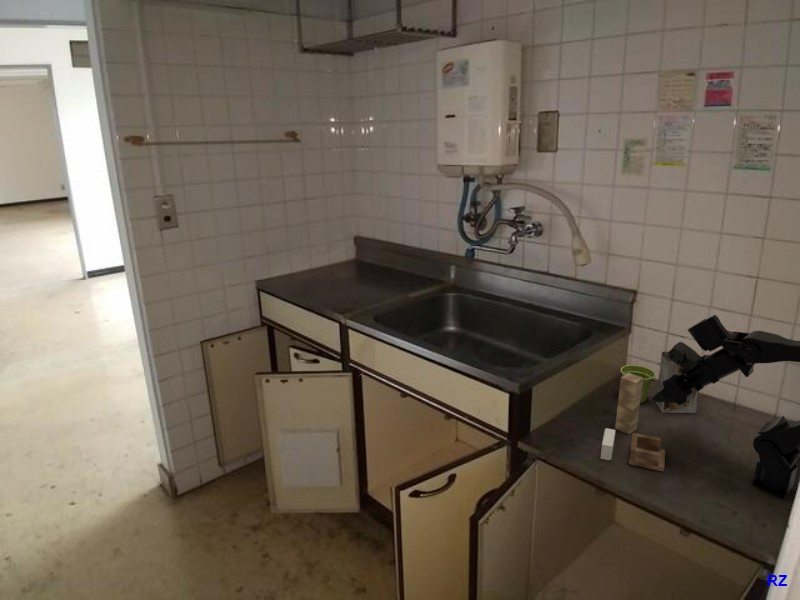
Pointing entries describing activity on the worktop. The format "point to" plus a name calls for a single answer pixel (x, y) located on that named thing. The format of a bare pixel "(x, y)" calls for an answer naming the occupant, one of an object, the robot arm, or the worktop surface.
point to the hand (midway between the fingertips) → (661, 393)
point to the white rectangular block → (607, 444)
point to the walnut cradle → (647, 452)
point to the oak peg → (629, 403)
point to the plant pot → (642, 372)
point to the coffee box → (665, 372)
